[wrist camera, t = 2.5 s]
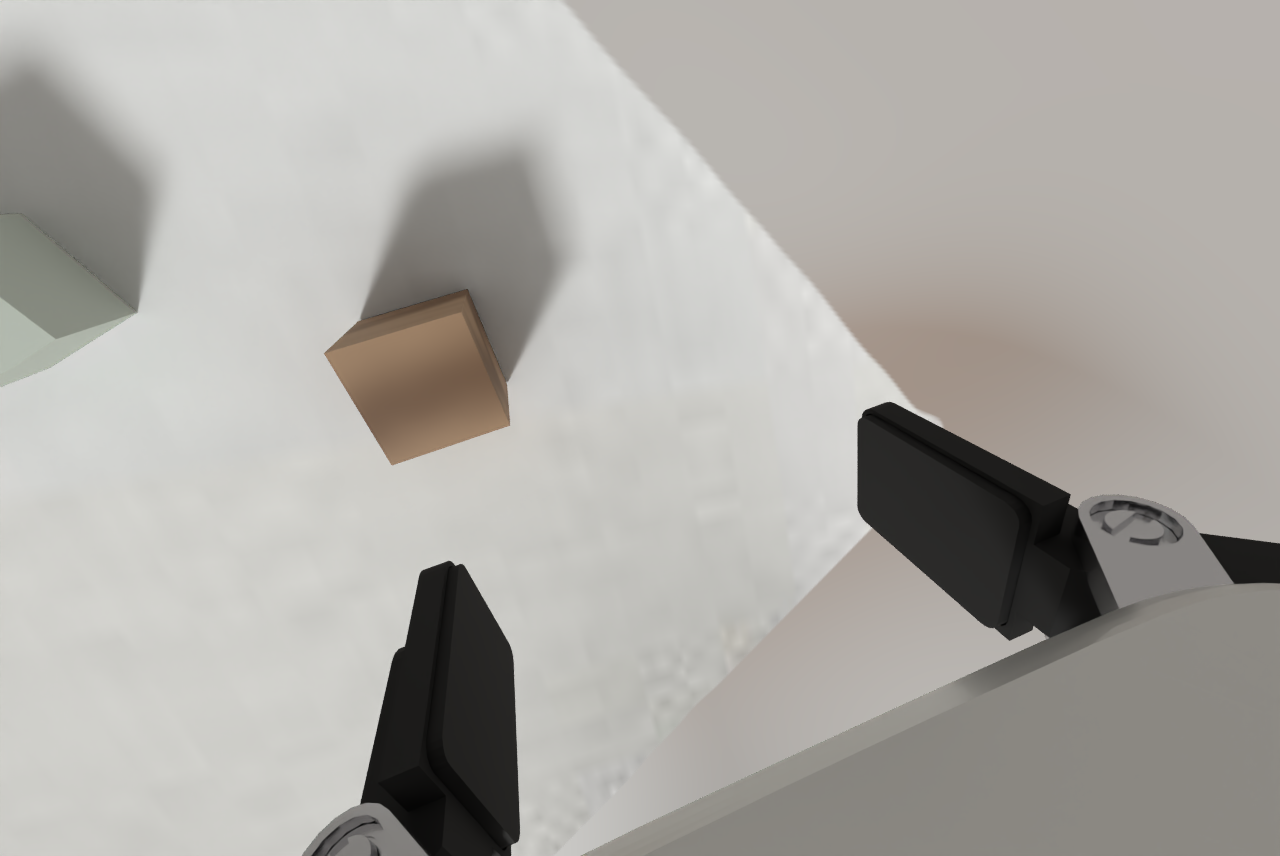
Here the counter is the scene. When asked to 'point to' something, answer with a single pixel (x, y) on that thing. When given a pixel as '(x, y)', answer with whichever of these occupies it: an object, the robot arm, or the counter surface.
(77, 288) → the sage block
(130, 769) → the counter surface
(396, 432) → the walnut block
